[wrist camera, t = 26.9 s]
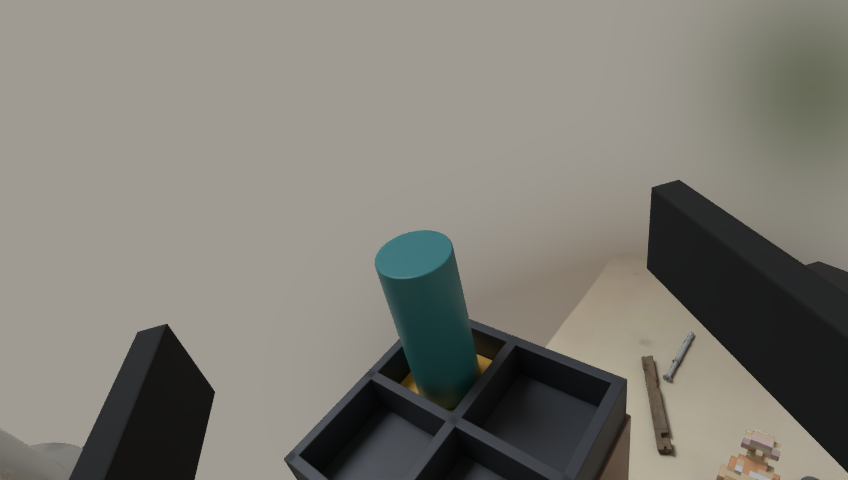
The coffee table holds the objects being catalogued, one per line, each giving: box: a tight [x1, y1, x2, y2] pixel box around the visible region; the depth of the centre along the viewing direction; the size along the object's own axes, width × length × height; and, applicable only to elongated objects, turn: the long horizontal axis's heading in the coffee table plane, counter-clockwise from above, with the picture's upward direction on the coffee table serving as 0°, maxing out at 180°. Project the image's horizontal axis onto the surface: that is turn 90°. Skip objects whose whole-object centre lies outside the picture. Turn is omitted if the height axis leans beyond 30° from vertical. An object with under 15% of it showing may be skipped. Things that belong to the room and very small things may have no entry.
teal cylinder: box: [375, 230, 481, 410], centre depth 27 cm, size 4×4×10 cm
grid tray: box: [284, 319, 627, 480], centre depth 26 cm, size 13×13×3 cm
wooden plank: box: [642, 356, 672, 454], centre depth 55 cm, size 13×1×1 cm, turn 168°
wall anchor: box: [663, 332, 694, 382], centre depth 60 cm, size 1×9×1 cm
